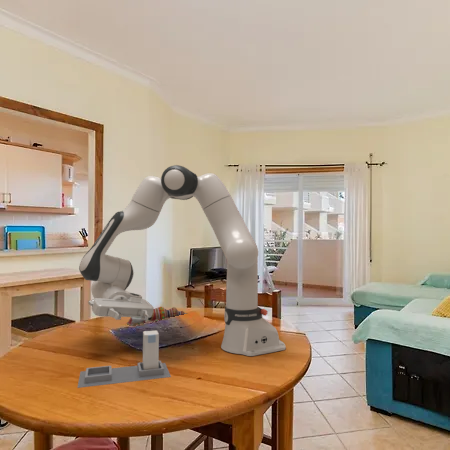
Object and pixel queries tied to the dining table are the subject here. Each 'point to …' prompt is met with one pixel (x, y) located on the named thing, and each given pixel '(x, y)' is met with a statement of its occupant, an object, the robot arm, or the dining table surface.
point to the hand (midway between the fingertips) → (133, 317)
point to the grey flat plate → (120, 375)
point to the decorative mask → (156, 316)
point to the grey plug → (150, 350)
